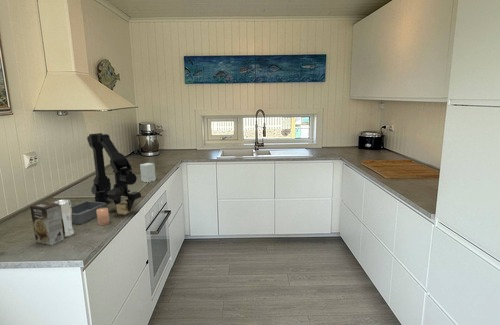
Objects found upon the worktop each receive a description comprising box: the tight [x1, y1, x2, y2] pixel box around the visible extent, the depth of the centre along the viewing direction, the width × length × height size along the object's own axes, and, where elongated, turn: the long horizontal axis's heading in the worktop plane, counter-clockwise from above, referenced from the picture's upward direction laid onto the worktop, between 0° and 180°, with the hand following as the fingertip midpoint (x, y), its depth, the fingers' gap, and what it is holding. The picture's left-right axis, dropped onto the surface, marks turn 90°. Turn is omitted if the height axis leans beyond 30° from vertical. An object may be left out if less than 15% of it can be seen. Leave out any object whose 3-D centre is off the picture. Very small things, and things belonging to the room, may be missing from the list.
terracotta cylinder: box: [96, 207, 110, 226], centre depth 150 cm, size 5×5×7 cm
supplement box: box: [139, 162, 157, 184], centre depth 225 cm, size 7×7×13 cm
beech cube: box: [115, 201, 133, 215], centre depth 164 cm, size 5×5×5 cm
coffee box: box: [29, 201, 65, 246], centre depth 131 cm, size 9×6×16 cm
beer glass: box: [52, 199, 75, 238], centre depth 137 cm, size 7×7×15 cm
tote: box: [71, 200, 109, 226], centre depth 159 cm, size 18×14×5 cm
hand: (124, 210), depth 165 cm, fingers open, 6 cm apart
